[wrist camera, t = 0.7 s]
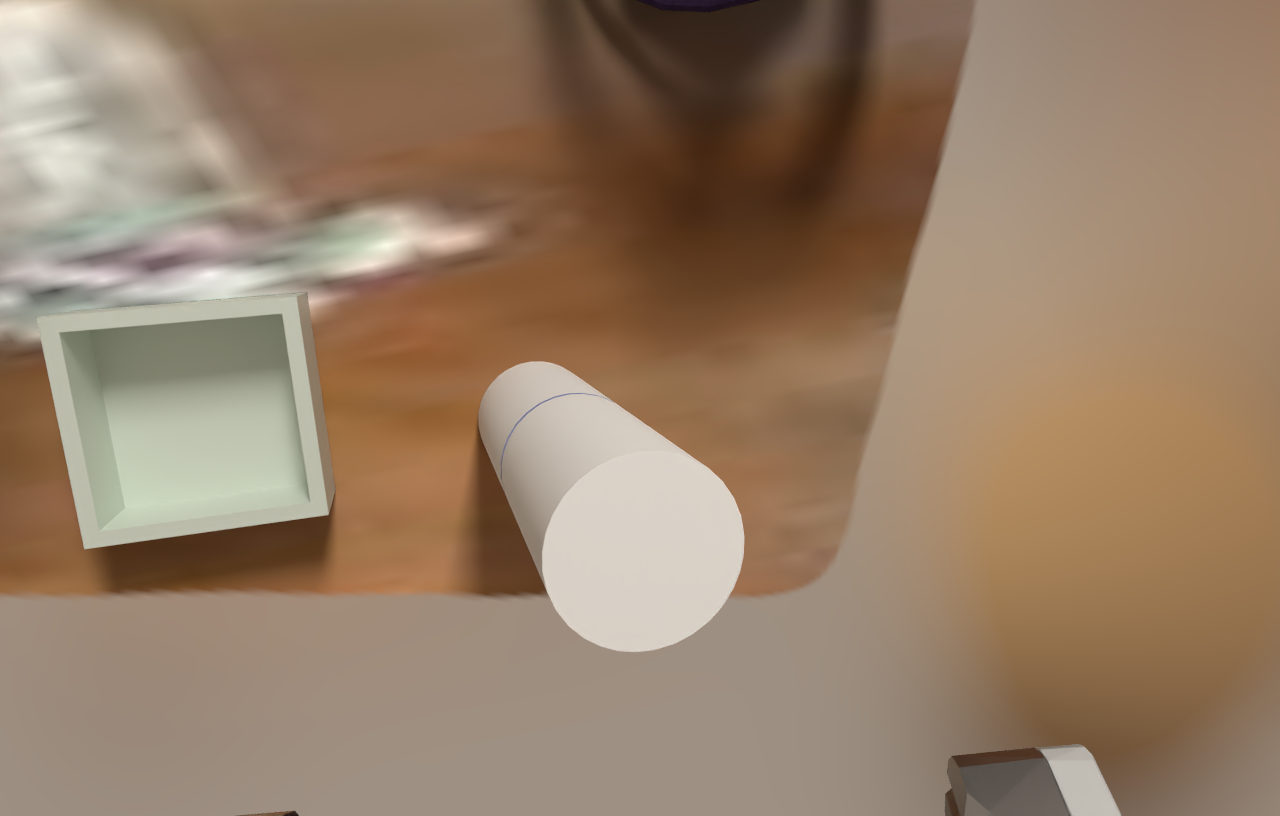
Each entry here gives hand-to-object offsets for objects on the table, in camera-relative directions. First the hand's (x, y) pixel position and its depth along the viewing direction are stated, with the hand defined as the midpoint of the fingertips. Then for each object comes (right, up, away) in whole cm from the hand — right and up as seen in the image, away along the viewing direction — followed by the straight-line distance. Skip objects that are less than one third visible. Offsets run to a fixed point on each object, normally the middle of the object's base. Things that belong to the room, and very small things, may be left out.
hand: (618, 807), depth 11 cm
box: (-24, +5, +37) cm, 44 cm away
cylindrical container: (-6, +4, +42) cm, 43 cm away
